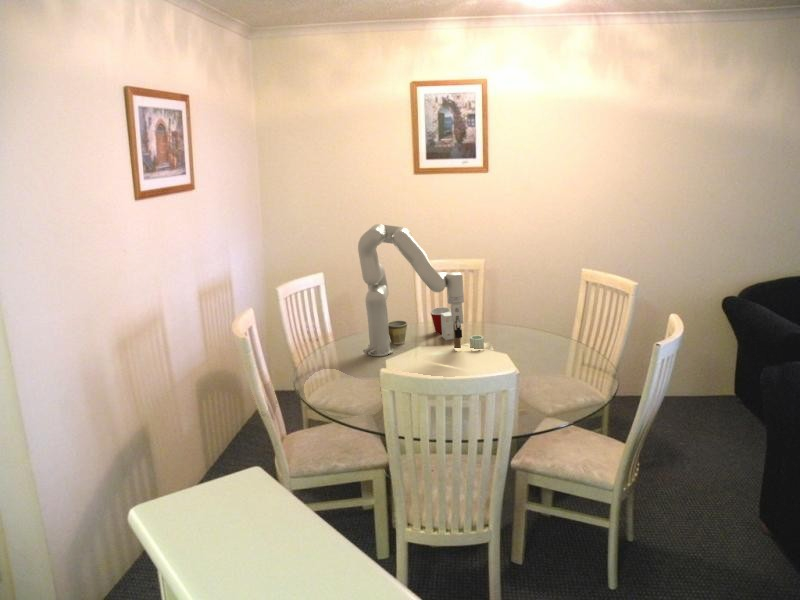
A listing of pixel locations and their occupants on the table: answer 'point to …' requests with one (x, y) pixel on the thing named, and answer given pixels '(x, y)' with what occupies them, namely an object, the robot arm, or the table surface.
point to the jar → (477, 342)
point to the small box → (447, 326)
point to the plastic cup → (438, 317)
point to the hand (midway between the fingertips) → (457, 334)
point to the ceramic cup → (397, 331)
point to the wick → (456, 340)
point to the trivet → (486, 345)
